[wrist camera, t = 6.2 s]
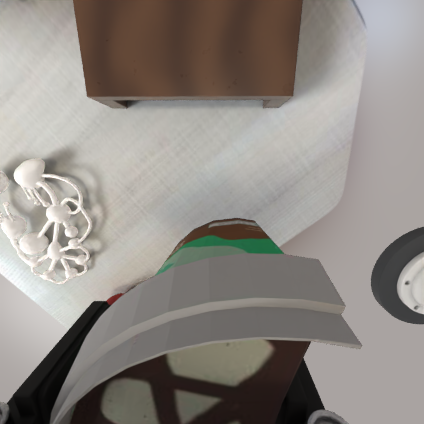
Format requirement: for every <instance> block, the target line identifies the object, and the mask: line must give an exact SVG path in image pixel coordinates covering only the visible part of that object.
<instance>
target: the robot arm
mask: <svg viewBox="0 0 424 424" xmlns="http://www.w3.org/2000/svg"><path fill="white" fill-rule="evenodd" d="M397 292H398V295H399V298H400V299H401V301H402V302H403V303H404V304H405V305H406V306H408V307H409V308H410V309H412V310H413V311H415V312H418V313H420V314H424V252H422V253H420V254H419V255H417V256H416V257H414V258H413V259H412V260H411V261H410V262H409V263H408V264H407V265H406V266H405V267H404V268H403V270H402V272H401V274H400V276H399V279H398V283H397ZM110 306H111V305H109V304H108V302H107V301H94V302H93V303H91V305H90V306H89V307H88V308H87V309H86V310H85V312H84V313H83V314H82V315H81V316H80V317H79V319H78V320H77V321H76V322H75V323H74V324H73V326H72V327H71V328H70V329H69V330H68V332H67V333H66V334H65V335H64V336H63V337H62V339H61V340H60V341H59V342H58V343H57V344H56V345H55V347H54V348H53V349H52V350H51V351H50V352H49V354H48V355H47V356H46V357H45V358H44V359H43V361H42V362H41V363H40V364H39V365H38V366H37V368H36V369H35V370H34V371H33V372H32V373H31V375H30V376H29V377H28V378H27V379H26V380H25V382H24V383H23V384H22V385H21V386H20V387H19V389H18V390H17V391H16V392H15V393H14V394H13V397H12V398H11V399H10V400H9V402H8V403H7V404H5V403H4V402H0V424H50V419H51V413H52V409H53V407H54V405H55V402H56V400H57V398H58V395H59V393H60V390H61V388H62V386H63V384H64V382H65V380H66V378H67V376H68V374H69V371H70V369H71V367H72V365H73V363H74V361H75V359H76V357H77V355H78V353H79V351H80V348H81V346H82V344H83V342H84V340H85V338H86V336H87V335H88V333H89V332H90V330H91V329H92V327H93V326H94V325H95V323H96V322H97V320H98V319H99V317H100V316H101V315H102V314H103V313H104V312H105V311H106V310H107V309H108V308H109V307H110ZM275 424H348V423H347V422H346V421H345V420H344V419H343V418H341V417H340V416H338V415H337V414H335V413H334V412H331V411H328V410H325V408H324V406H323V404H322V401H321V399H320V396H319V394H318V392H317V389H316V387H315V384H314V382H313V380H312V377H311V375H310V373H309V370H308V368H307V366H306V363H305V361H304V358H303V359H302V361H301V363H300V366H299V368H298V370H297V372H296V374H295V376H294V378H293V381H292V383H291V385H290V387H289V389H288V391H287V394H286V396H285V398H284V400H283V402H282V405H281V407H280V410H279V413H278V416H277V419H276V422H275Z"/></svg>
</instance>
